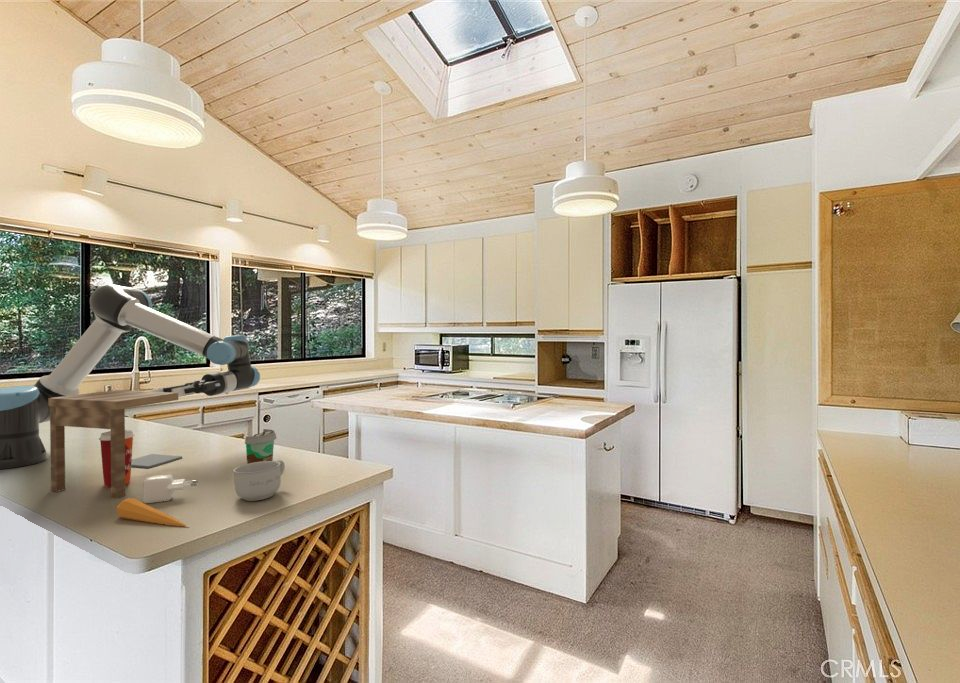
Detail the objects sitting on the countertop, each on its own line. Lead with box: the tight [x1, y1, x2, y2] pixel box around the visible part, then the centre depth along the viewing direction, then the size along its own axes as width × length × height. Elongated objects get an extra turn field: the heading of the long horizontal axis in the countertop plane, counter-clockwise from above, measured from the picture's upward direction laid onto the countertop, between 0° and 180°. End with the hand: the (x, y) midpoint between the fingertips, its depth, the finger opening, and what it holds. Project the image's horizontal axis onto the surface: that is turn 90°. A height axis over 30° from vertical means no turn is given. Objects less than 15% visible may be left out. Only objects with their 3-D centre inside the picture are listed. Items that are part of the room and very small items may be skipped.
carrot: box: [116, 497, 187, 527], centre depth 104 cm, size 20×4×4 cm, turn 72°
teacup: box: [232, 459, 286, 502], centre depth 122 cm, size 14×11×8 cm
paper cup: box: [98, 429, 135, 488], centre depth 130 cm, size 8×8×14 cm
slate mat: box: [131, 453, 183, 469], centre depth 152 cm, size 12×12×1 cm
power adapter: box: [142, 474, 199, 504], centre depth 118 cm, size 11×5×6 cm, turn 115°
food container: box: [244, 428, 277, 464], centre depth 149 cm, size 12×6×10 cm, turn 179°
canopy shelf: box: [48, 389, 179, 499], centre depth 130 cm, size 22×18×24 cm
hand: (157, 395), depth 144 cm, fingers open, 13 cm apart
